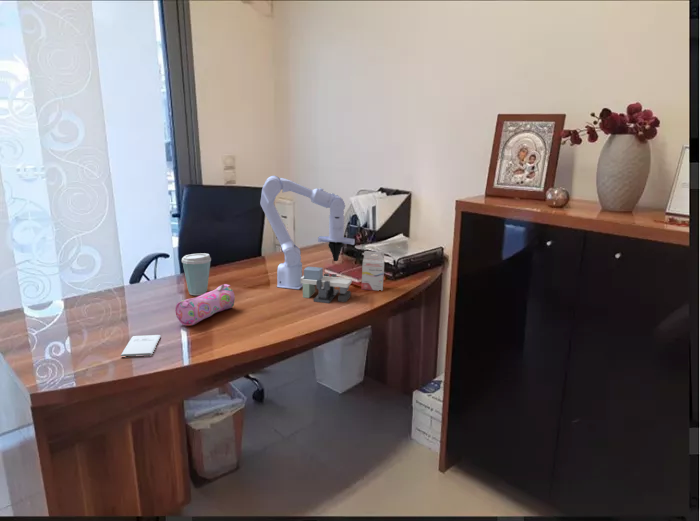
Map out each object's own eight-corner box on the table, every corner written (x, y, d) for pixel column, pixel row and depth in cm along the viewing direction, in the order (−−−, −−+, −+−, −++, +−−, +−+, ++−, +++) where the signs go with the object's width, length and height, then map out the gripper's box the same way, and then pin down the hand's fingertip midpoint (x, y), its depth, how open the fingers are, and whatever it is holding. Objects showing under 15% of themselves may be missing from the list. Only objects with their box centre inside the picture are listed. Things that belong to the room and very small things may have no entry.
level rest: (302, 297, 187) (302, 283, 185) (308, 291, 193) (308, 278, 192) (309, 298, 186) (309, 284, 184) (315, 292, 192) (315, 278, 191)
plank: (299, 290, 185) (299, 279, 183) (308, 282, 194) (308, 271, 193) (346, 295, 180) (346, 283, 179) (352, 287, 190) (353, 276, 188)
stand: (313, 301, 183) (313, 282, 180) (324, 290, 195) (324, 272, 193) (329, 303, 181) (329, 283, 179) (338, 292, 193) (339, 273, 191)
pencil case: (218, 304, 178) (217, 280, 176) (239, 309, 174) (238, 284, 172) (173, 324, 160) (171, 298, 157) (195, 330, 156) (193, 303, 153)
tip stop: (338, 301, 183) (338, 296, 183) (343, 295, 190) (343, 290, 189) (345, 302, 183) (345, 297, 182) (350, 296, 189) (350, 291, 189)
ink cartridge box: (361, 289, 196) (362, 253, 192) (362, 285, 201) (363, 250, 197) (382, 291, 196) (384, 254, 192) (383, 287, 200) (384, 251, 196)
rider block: (303, 279, 186) (303, 269, 185) (307, 276, 190) (307, 266, 189) (319, 281, 185) (319, 271, 184) (322, 277, 189) (322, 267, 188)
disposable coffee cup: (177, 295, 186) (174, 256, 182) (196, 286, 196) (193, 249, 192) (200, 299, 182) (198, 259, 178) (218, 290, 192) (216, 253, 188)
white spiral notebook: (121, 359, 137) (132, 340, 149) (152, 358, 138) (161, 339, 150) (120, 354, 137) (132, 335, 148) (151, 352, 138) (160, 334, 150)
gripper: (315, 227, 193) (315, 261, 196) (351, 230, 189) (351, 264, 193) (321, 224, 199) (321, 257, 203) (356, 226, 196) (355, 260, 199)
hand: (335, 260), depth 198 cm, fingers closed
